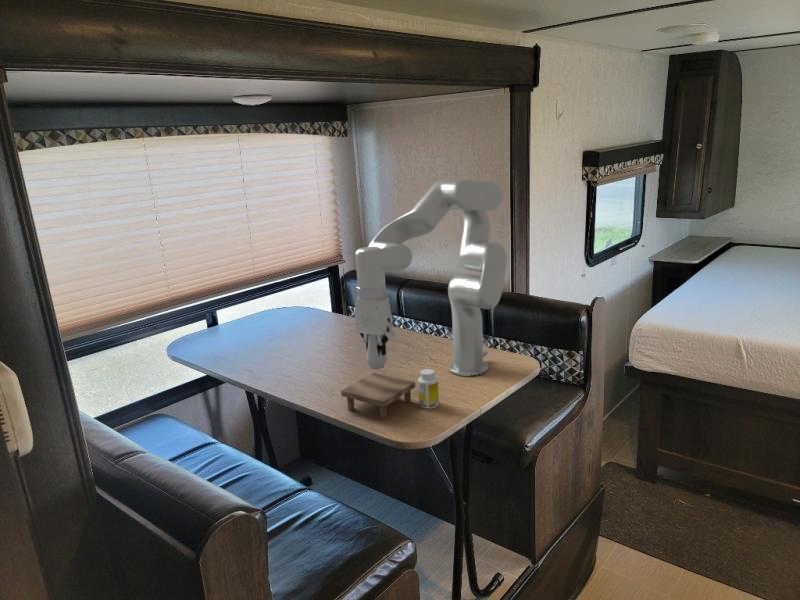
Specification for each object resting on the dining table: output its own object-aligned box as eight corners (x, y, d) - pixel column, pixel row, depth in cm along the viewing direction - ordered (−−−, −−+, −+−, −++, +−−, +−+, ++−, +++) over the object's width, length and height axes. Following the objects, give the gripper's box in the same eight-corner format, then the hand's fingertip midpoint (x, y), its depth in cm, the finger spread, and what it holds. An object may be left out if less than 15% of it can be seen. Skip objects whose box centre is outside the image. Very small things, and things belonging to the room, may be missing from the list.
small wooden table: (375, 391, 174) (373, 372, 173) (416, 401, 165) (415, 381, 164) (342, 410, 162) (341, 390, 161) (385, 422, 154) (383, 401, 152)
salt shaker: (376, 361, 165) (373, 318, 162) (391, 365, 161) (388, 321, 158) (362, 367, 160) (359, 323, 157) (377, 372, 157) (374, 326, 154)
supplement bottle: (440, 401, 164) (439, 368, 162) (436, 410, 159) (435, 376, 156) (422, 400, 166) (420, 367, 163) (417, 408, 161) (415, 374, 158)
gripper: (340, 292, 157) (345, 355, 162) (388, 299, 148) (392, 365, 153) (357, 286, 163) (362, 347, 168) (404, 292, 154) (408, 356, 158)
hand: (376, 355), depth 160 cm, fingers closed on salt shaker, 3 cm apart
